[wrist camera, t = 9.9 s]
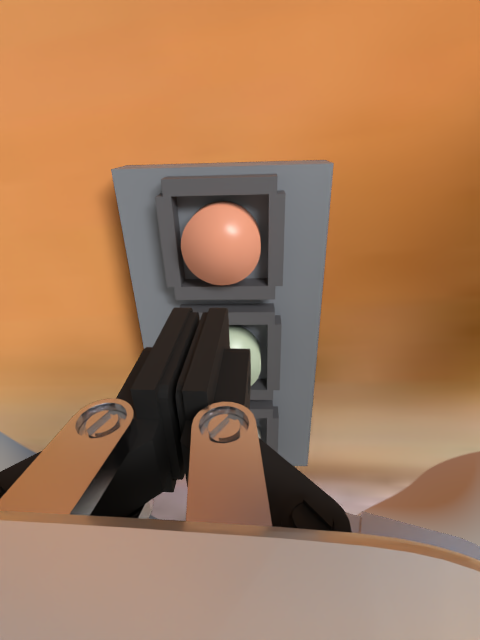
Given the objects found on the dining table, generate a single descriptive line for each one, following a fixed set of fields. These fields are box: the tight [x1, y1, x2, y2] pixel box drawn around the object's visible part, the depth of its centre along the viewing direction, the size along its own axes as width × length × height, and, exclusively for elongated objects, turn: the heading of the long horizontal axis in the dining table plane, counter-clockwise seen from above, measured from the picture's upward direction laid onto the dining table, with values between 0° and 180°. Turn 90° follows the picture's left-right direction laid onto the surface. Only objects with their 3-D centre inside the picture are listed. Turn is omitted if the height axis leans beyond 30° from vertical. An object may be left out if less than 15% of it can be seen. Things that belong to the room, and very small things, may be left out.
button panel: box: [111, 160, 333, 466], centre depth 29 cm, size 14×27×4 cm, turn 2°
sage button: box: [229, 325, 261, 386], centre depth 27 cm, size 5×5×2 cm
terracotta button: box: [181, 201, 261, 285], centre depth 23 cm, size 5×5×2 cm
